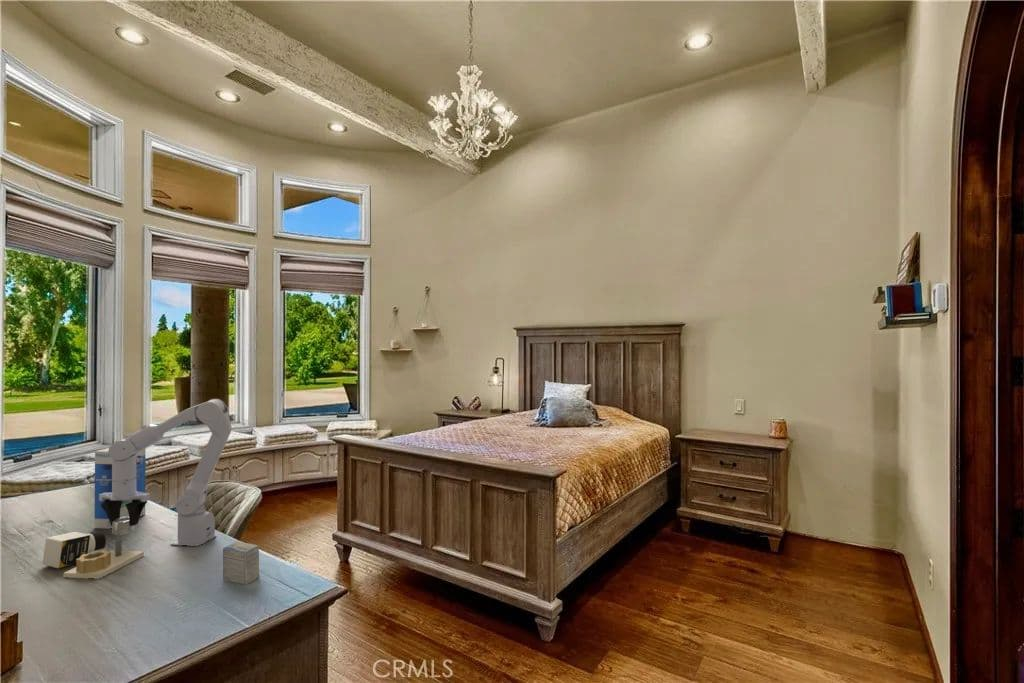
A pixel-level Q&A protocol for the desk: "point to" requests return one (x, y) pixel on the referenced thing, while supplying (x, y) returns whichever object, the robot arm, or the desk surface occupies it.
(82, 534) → the medicine bottle
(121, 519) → the steel gear
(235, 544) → the beige wooden block
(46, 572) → the desk surface
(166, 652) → the desk surface
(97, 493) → the string lights box
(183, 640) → the desk surface
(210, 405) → the robot arm
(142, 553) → the gear board
